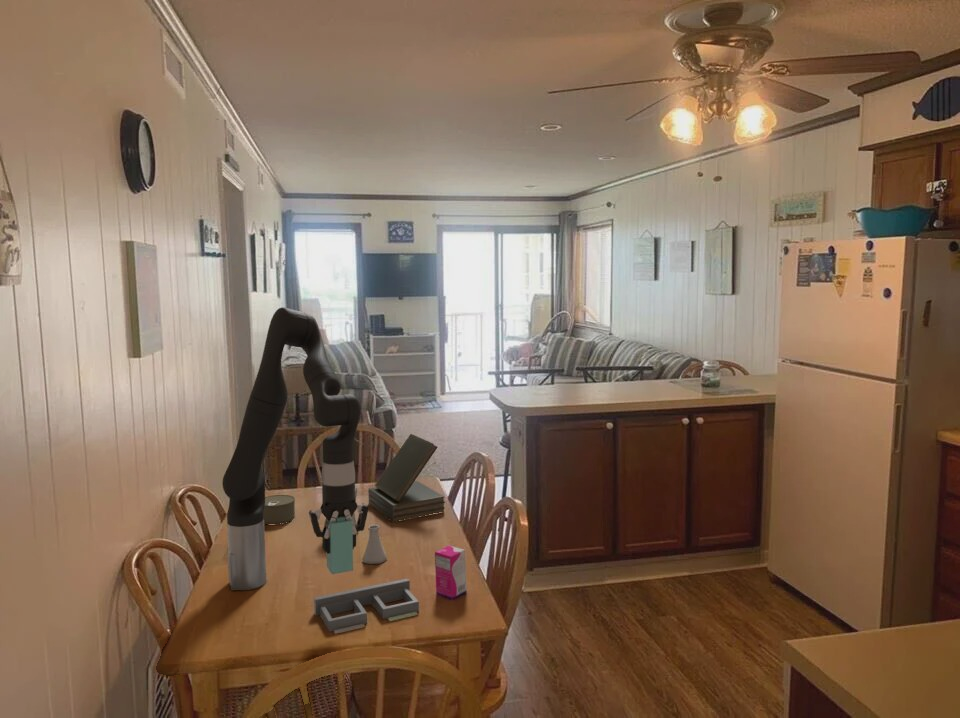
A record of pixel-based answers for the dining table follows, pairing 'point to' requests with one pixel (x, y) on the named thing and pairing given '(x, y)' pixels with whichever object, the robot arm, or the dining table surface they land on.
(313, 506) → the dining table surface
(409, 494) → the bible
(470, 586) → the dining table surface
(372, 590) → the socket panel
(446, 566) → the supplement box
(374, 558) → the flask
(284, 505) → the can
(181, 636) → the dining table surface
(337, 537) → the plug
